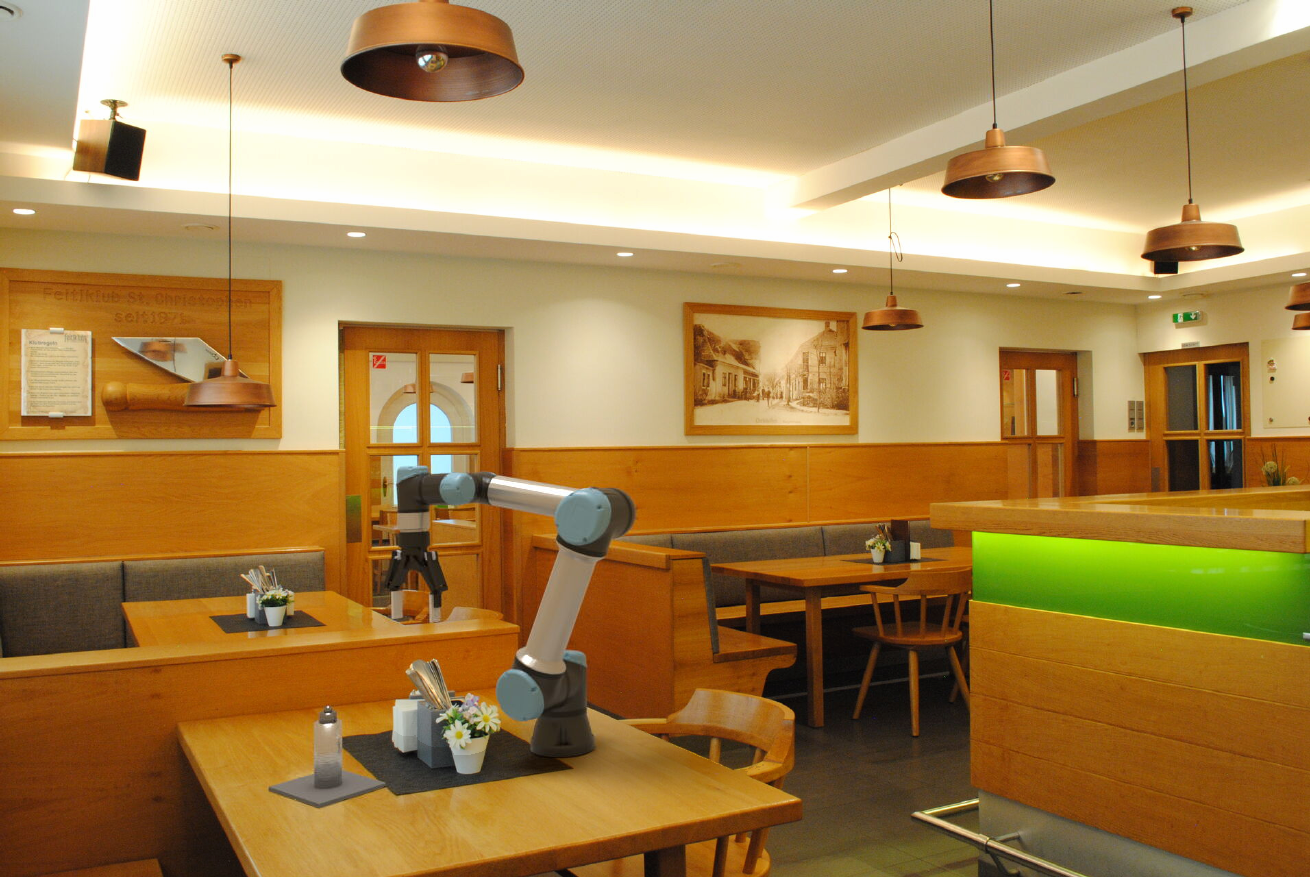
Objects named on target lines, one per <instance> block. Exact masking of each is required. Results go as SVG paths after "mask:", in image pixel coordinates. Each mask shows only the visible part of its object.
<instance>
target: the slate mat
mask: <svg viewBox="0 0 1310 877" xmlns="http://www.w3.org/2000/svg"><path fill="white" fill-rule="evenodd" d="M384 786H386V787H387V782H384V781H381V780H377V779H374V778H372V777H367V776H364V775H361V774H357V773H354V772H351V771H348V770H345V769H342V785H340V786H338V787H335V788H330V789H318V788H315V787H314V773H311V774H309V775H305V776H302V777H299V778H294V779H291V780H288V781H285V782H284V781H283V782H279V783H276V784H273V785H270V786H268V791H269V792H271V793H274V794H277V793H278V794H277V795H280V796H283V795H284V796H283V797H285V798H288V797H289V798H290V799H292V800H294V799H296V800H295V801H297V800H298V802H300V801H301V802H300V803H302V804H303V803H304V804H306V803H307V804H306V805H309V806H312V807H315V808H318V809H320V808H324V807H327V806H330V805H333V803H334V804H336V803H339V801H340V802H342V801H345V800H344V799H346V800H349V799H353V798H355V797H358V795H359V796H361V795H364V794H368V793H371V792H374V791H373V790H375V791H377V789H378V790H380V789H379V788H381V789H384V788H385V787H384ZM383 787H384V788H383ZM352 797H353V798H352ZM289 798H288V799H289Z"/></svg>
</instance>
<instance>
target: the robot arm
mask: <svg viewBox="0 0 1310 877" xmlns="http://www.w3.org/2000/svg"><path fill="white" fill-rule="evenodd" d="M395 486H396V498H397V499H396V500H397V503H396V504H397V513H396V515H397V516H396V517H397V518H396V522H397V524H396V528H397V530H399V531H398V533H397V547H398V548H400V549H397V550H396V549H395V550H391V559H390V562H389V566H388V569H387V572H386V576H385V580H384V582H383V588H384V589H387V590H388V591H389V594H390V596H389V600H390V601H389V602H390V605H391V620H396V619H401V618H403V616H404V615H403V590H402V585H403V584H404V582H405V579H406V578H407V576H408V575H409V572H410V571H411V570H413V571H417V572H418V573H420V575H421V577H422V578H423V580H424V582H425V583H426V585H427V587H428V588H429V590H430V592H429V594H428V598H429V599H428V603H429V605H428V606H429V607H428V608H429V610H428V611H429V613H428V614H429V623H431V624H433V623H437V622H438V623H439V622H441V620H442V619H441V618H442V616H441V611H442V610H441V608H442V606H443V605H442V601H443V600H442V594H443V593H444V592H445V591H446V592H447V591H448V590H449V586H448V584H447V580H446V578H445V575H444V572H443V570H442V566H441V564H440V560H439V554H438V551H437V550H432V551H431V550H430V551H428V547H430V546H431V532H430V530H429V529H430V528H431V526H430V524H431V523H430V522H431V521H430V520H431V519H430V506H454V507H455V506H461V505H462V506H463V505H466V504H467V505H469V504H481V505H486V506H494V507H500V508H505V509H510V510H515V511H521V512H525V513H531V514H536V515H542V516H546V517H552V518H554V525H555V526H556V531H557V535H556V537H555V542H556V545H557V547H558V549H559V550H558V552H557V556H556V559H555V561H554V564H553V567H552V570H551V573H550V576H549V579H548V582H547V584H546V586H545V587H546V588H545V590H544V593H543V596H542V599H541V601H540V605H539V607H538V611H537V613H536V617H535V619H534V621H533V625H532V628H531V630H530V634H529V637H528V639H527V642H526V645H525V646H523V647H521V648H519V649H518V650H517V651H516V652H515V657H514V658H513V662H512V664H511V667H510V669H507V670H506V671H504V672H503V673H502V674H501V675H500V676H499V678H498V680H497V682H496V686H495V696H496V700H497V702H498V703H499V707H500V709H501V711H503V713H504V714H505V715H506V716H507V717H508V718H510V719H511V720H514V721H516V722H528V721H532V720H533V721H534V720H536V721H535V725H534V727H533V730H532V736H531V737H530V742H529V743H530V747H529V748H530V749H529V750H530V752H532V754H535V755H537V756H540V757H547V758H567V757H569V758H570V757H577V756H581V755H585V754H588V753H591V752H592V751H593V750H595V747H596V744H595V743H596V740H595V735H594V733H593V731H592V728H591V723H590V721H589V720H590V719H589V716H588V674H587V672H588V671H587V670H588V665H587V656H586V654H585V653H584V652H582V651H580V650H573V649H566V648H567V646H568V644H569V640H570V638H571V635H572V633H573V629H574V627H575V623H576V620H577V619H578V614H579V612H580V610H581V606H582V604H583V601H584V597H585V595H586V592H587V589H588V587H589V584H590V582H591V580H592V579H591V578H592V575H593V573H594V570H595V567H596V565H597V562H599V561H601V560H603V559H605V558H606V556H607V554H608V552H609V548H610V546H611V542H612V540H615V539H618V538H621V537H623V536H625V535H626V534H627V533H629V531H630V530H632V528H633V526H634V525H635V522H636V518H637V508H636V505H635V502H634V500H633V499H632V497H631V496H630V494H628V493H627V492H626V491H624V490H622V489H620V488H616V487H596V486H589V487H587V488H581V489H580V488H575V487H572V486H571V487H570V486H569V487H568V486H564V485H559V484H558V485H557V484H552V483H548V482H547V483H546V482H539V481H536V480H535V481H534V480H527V479H522V478H515V477H509V476H504V475H497V474H496V473H493V472H489V471H480V472H460V471H458V472H456V471H454V472H441V473H430V470H429V467H428V466H426V465H411V466H410V465H408V466H407V465H406V466H405V465H403V466H400V467H398V469H397V471H396V484H395Z"/></svg>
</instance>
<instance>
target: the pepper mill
mask: <svg viewBox="0 0 1310 877" xmlns="http://www.w3.org/2000/svg"><path fill="white" fill-rule="evenodd" d="M342 770H343V720H342V719H341V718H340V719H339V718H338V711H337V710H333V707H332V706H331V705H326V706H324V707H323V710H322V711H319V712H318V720H316V721H314V722H313V774H314V787H315V788H318V789H330V788H335V787H338V786H340V785H342Z"/></svg>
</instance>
